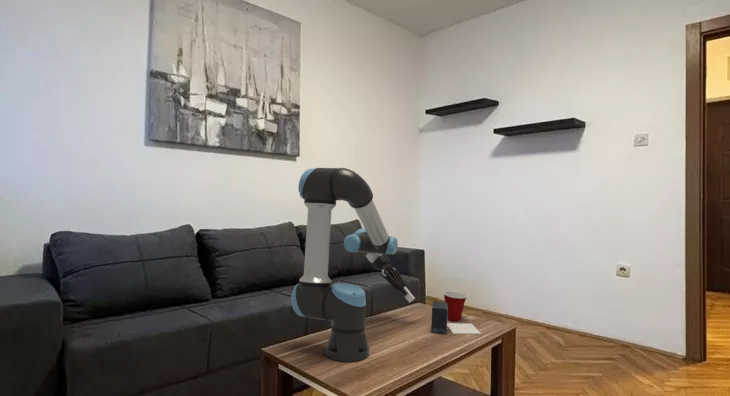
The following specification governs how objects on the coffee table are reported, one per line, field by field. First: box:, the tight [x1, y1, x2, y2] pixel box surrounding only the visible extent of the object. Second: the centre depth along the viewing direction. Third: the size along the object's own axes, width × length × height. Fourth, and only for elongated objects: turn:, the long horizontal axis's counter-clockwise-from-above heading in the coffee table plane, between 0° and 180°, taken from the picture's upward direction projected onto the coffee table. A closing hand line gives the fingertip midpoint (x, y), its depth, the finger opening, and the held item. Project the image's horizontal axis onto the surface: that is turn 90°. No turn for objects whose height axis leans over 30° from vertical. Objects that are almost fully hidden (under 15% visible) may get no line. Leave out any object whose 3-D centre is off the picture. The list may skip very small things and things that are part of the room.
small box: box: [430, 301, 448, 335], centre depth 173 cm, size 11×6×10 cm, turn 168°
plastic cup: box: [442, 290, 468, 323], centre depth 187 cm, size 11×11×12 cm
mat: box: [447, 322, 482, 335], centre depth 175 cm, size 12×13×1 cm
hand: (412, 300), depth 179 cm, fingers closed
